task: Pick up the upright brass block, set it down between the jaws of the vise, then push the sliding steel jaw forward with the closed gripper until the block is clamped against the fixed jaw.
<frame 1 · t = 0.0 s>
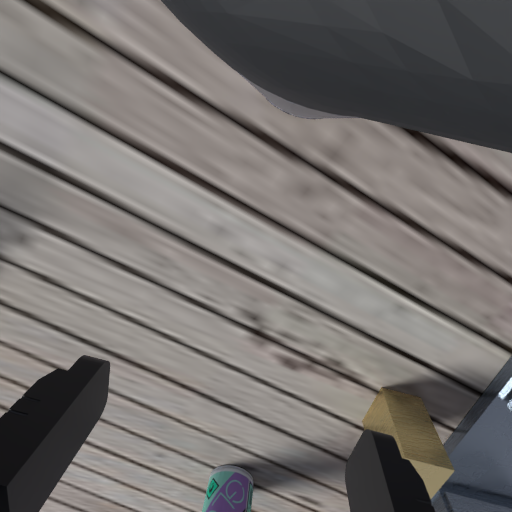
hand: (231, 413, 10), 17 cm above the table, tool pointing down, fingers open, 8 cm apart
spray can: (232, 477, 39), on the table
block: (390, 409, 32), on the table
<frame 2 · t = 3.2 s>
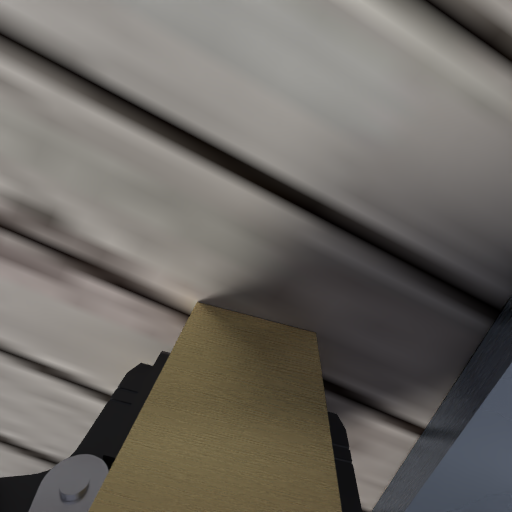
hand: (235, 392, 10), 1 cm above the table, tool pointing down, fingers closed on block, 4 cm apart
block: (239, 374, 11), on the table, touching gripper
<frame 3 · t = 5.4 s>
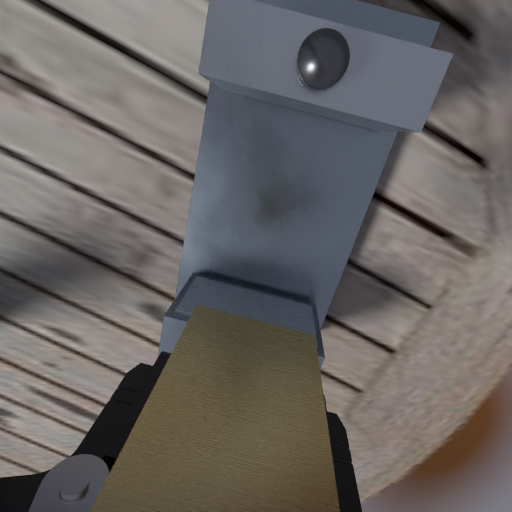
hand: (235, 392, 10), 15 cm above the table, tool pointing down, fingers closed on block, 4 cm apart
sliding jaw: (315, 74, 15), point 5 cm above the table, slide at 0.0 cm
vise: (281, 187, 22), on the table
block: (239, 376, 11), point 14 cm above the table, touching gripper
when the fingers open (3 cm above the table, at t = 7.8 s): block drops 1 cm, resting on vise.
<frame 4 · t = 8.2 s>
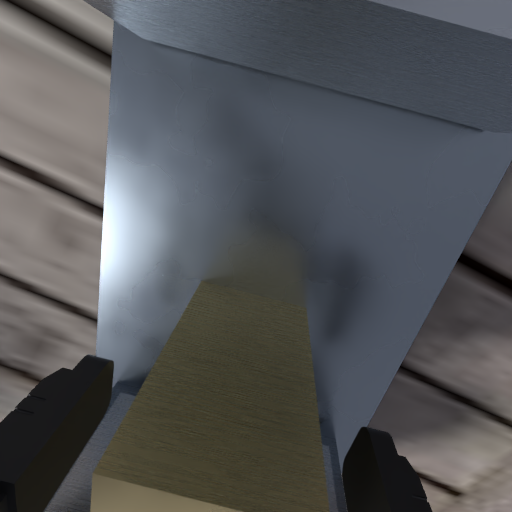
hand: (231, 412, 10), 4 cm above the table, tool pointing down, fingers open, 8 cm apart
vise: (274, 236, 12), on the table
block: (239, 347, 12), point 1 cm above the table, touching vise
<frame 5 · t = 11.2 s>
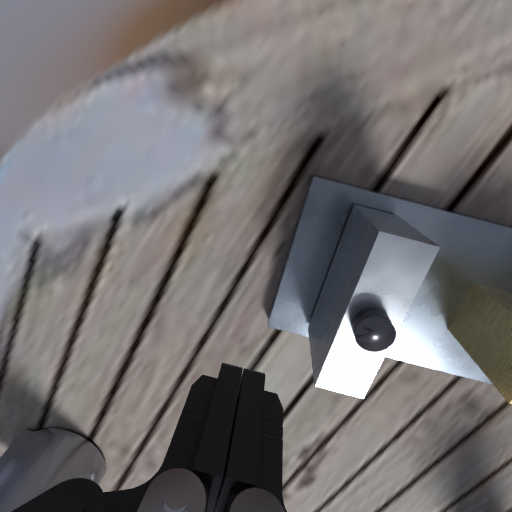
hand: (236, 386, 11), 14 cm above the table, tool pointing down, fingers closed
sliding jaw: (360, 301, 19), point 5 cm above the table, slide at 0.0 cm
vise: (427, 289, 24), on the table
block: (493, 314, 23), point 1 cm above the table, touching vise
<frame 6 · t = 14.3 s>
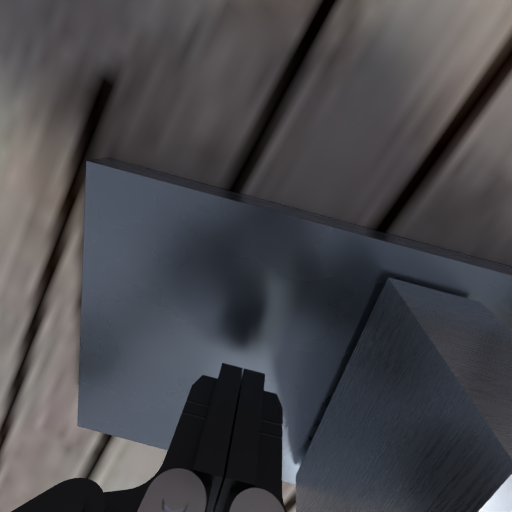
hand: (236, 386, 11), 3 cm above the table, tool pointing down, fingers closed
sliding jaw: (404, 506, 8), point 5 cm above the table, slide at 7.0 cm, touching block, hand
vise: (352, 371, 13), on the table
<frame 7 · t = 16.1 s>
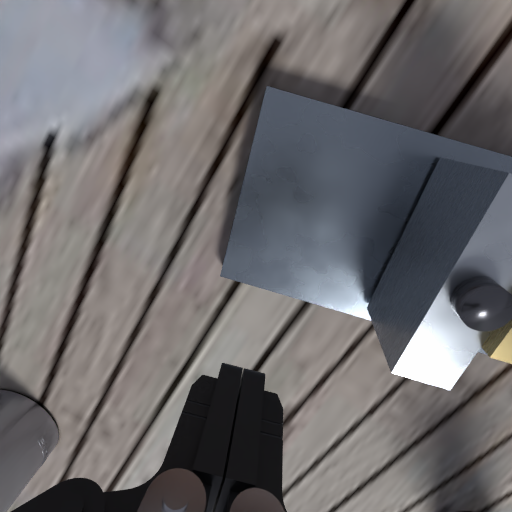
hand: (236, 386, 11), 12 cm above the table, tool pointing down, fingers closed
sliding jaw: (449, 272, 16), point 5 cm above the table, slide at 7.1 cm, touching block
vise: (406, 236, 20), on the table
block: (482, 267, 19), point 1 cm above the table, touching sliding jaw, vise
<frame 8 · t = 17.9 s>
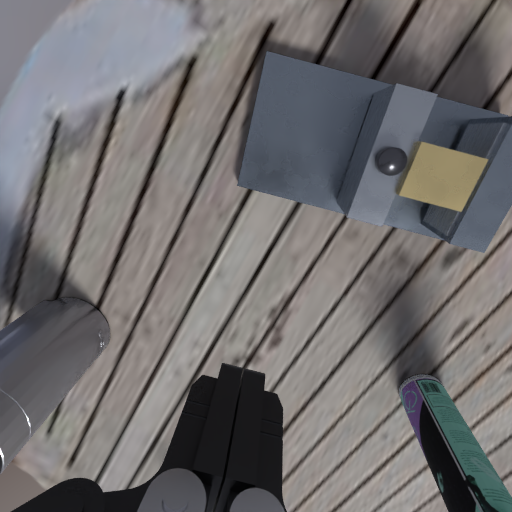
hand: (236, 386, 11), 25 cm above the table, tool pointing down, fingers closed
spray can: (419, 389, 41), on the table
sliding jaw: (379, 158, 26), point 5 cm above the table, slide at 7.1 cm, touching block
vise: (360, 152, 31), on the table
block: (408, 167, 30), point 1 cm above the table, touching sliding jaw, vise
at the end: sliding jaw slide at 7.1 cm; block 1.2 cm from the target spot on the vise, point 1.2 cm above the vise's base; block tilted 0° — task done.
